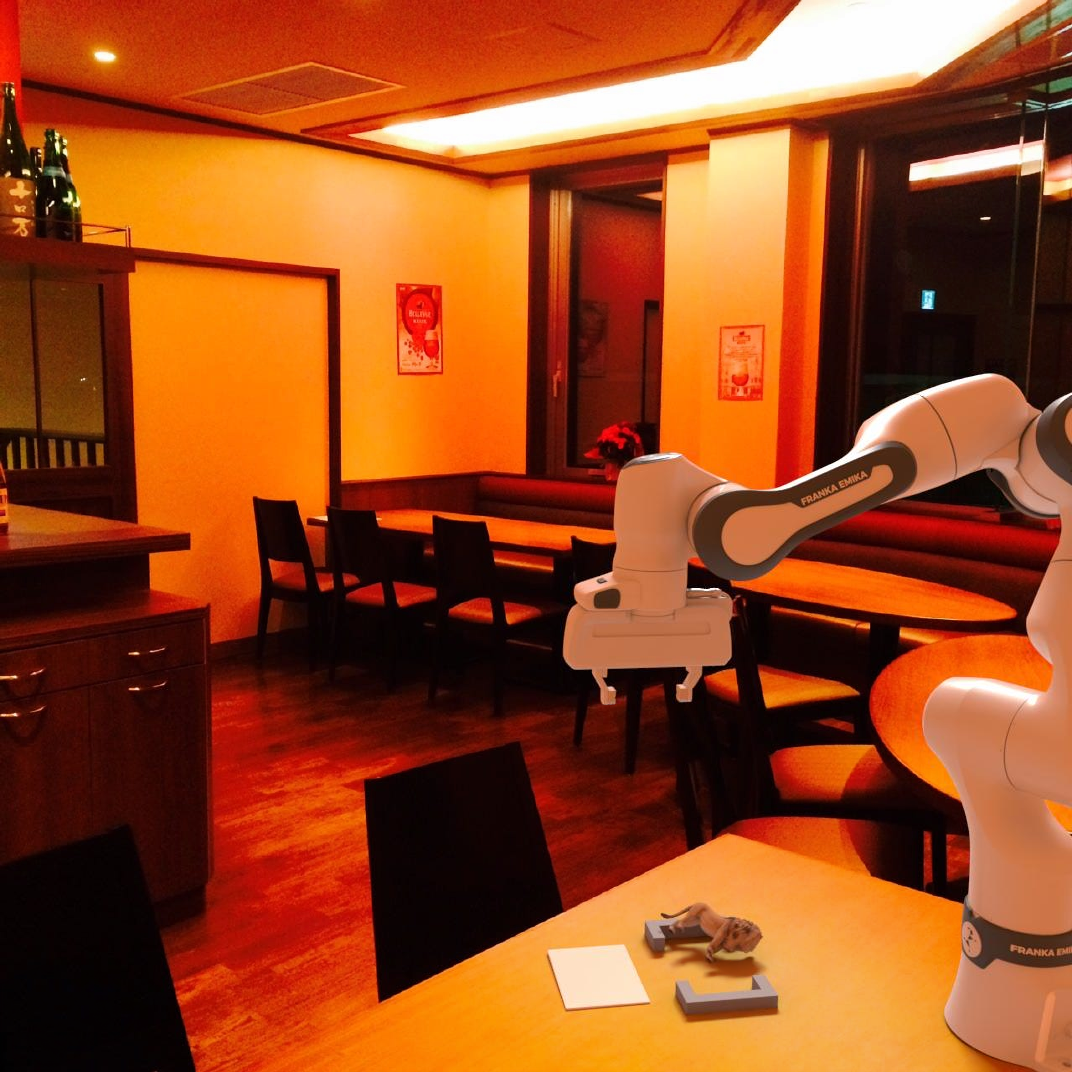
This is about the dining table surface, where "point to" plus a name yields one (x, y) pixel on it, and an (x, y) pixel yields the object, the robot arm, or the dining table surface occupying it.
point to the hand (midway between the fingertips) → (646, 701)
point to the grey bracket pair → (711, 1002)
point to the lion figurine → (718, 929)
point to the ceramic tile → (596, 977)
